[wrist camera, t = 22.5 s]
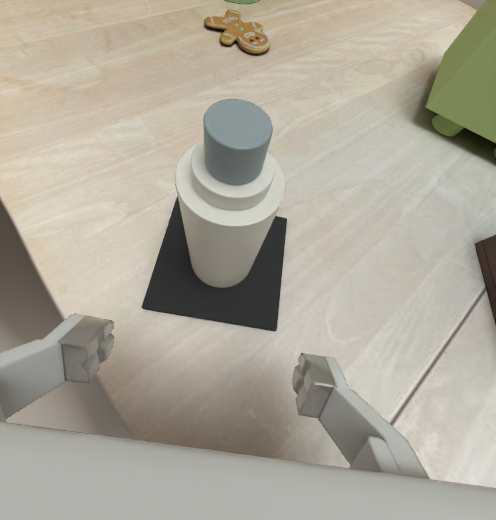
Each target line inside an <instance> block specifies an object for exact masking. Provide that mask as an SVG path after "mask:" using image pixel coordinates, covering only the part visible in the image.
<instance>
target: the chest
mask: <svg viewBox="0 0 496 520" xmlns="http://www.w3.org/2000/svg"><path fill="white" fill-rule="evenodd" d="M475 245H476V249H477V253H478V256H479V260H480V264H481V268H482V272H483V275H484V279H485V283H486V287H487V291H488V295H489V298H490V302H491V306H492V310H493V314H494V317H495V321H496V235H494V236H492V237H489V238H487V239H485V240H483V241H480V242H478V243H475Z"/></svg>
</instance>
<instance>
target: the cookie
mask: <svg viewBox="0 0 496 520" xmlns="http://www.w3.org/2000/svg"><path fill="white" fill-rule="evenodd" d="M204 24H205V25H206V26H208V27H211V28H216V29H222V30H225V31H224V32H223V33H222V34H221V36H220V41H221V43H223V44H225V45H231V44H233V43H234V41H237V42H238V45H239V47H240V48H241V49H243V50H244V51H246V52H249V53H252V54H260V53H263V52H265V51H267V50H268V49H269V47H270V40H269V38H268V36H267V35H266V34H265V33H263V32H262V30H263V28H262V25H261V24H259V23H254V22H249V23H243V22H242V21H241V15H240V13H239V12H238V11H235V10H228V11H227V12H226V14H225V17H212V16H210V17H207V18H206V19H205V20H204Z"/></svg>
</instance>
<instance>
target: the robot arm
mask: <svg viewBox="0 0 496 520" xmlns="http://www.w3.org/2000/svg"><path fill="white" fill-rule="evenodd" d="M113 329H114V322H113V321H112V320H107V319H102V318H97V317H92V316H85V315H80V314H72V315H70V316H69V317H68V318H67V319H66V320H65V321H63V322H62V323H61V324H60V325H59V326H58V327H57V328H55V329H54V330H53V331H52V332H50V333H49V334H48V335H47V336H46V337H45V338H44V339H42V340H38V339H37V340H34V341H32V342H29V343H26V344H23V345H20V346H18V347H15V348H12V349H9V350H7V351H4V352H1V353H0V520H496V488H492V487H484V486H477V485H469V484H462V483H454V482H447V481H439V480H432V479H430V478H429V477H428V475H427V473H426V471H425V470H424V468H423V466H422V464H421V463H420V461H419V459H418V457H417V456H416V454H415V452H414V450H413V449H412V447H411V445H410V443H409V442H408V440H407V439H405V438H404V437H403V436H402V435H401V434H400V433H399V432H398V431H397V430H396V429H395V428H394V427H393V426H391V425H390V424H389V423H388V422H387V421H386V420H385V419H384V418H383V417H382V416H381V415H380V414H378V413H377V412H376V411H375V410H374V409H373V408H372V407H371V406H370V405H369V404H368V403H367V402H366V401H364V400H363V399H362V398H361V397H360V396H359V395H358V394H357V393H356V392H355V391H354V390H350V388H349V386H348V384H347V382H346V380H345V377H344V375H343V373H342V371H341V369H340V366H339V364H338V362H337V360H336V359H335V358H331V357H325V356H317V355H311V354H305V353H301V354H300V356H299V359H298V361H299V365H298V366H296V367H295V369H294V372H293V379H292V381H293V389H294V391H295V392H296V393H297V394H298V395H297V397H296V404H297V409H298V414H299V415H303V416H308V417H314V418H319V419H318V420H319V421H320V422H321V424H322V425H323V427H324V428H325V430H326V431H327V432H328V434H329V435H330V437H331V438H332V440H333V441H334V442H335V444H336V445H337V447H338V448H339V450H340V451H341V452H342V454H343V455H344V457H345V458H346V460H347V461H348V462H349V464H350V465H351V466H350V468H342V467H335V466H327V465H320V464H313V463H305V462H298V461H290V460H283V459H275V458H267V457H260V456H252V455H245V454H237V453H230V452H222V451H214V450H207V449H200V448H192V447H185V446H177V445H170V444H163V443H155V442H148V441H140V440H133V439H126V438H118V437H110V436H103V435H96V434H88V433H80V432H73V431H66V430H58V429H50V428H43V427H35V426H28V425H21V424H13V423H6V420H5V419H7V418H8V417H10V416H11V415H13V414H14V413H16V412H18V411H19V410H21V409H22V408H24V407H26V406H27V405H29V404H30V403H32V402H33V401H35V400H37V399H38V398H40V397H42V396H43V395H45V394H46V393H48V392H49V391H51V390H53V389H54V388H56V387H57V386H59V385H60V384H62V383H64V382H65V380H66V381H74V382H82V383H89V382H90V381H91V380H92V378H93V377H94V376H95V374H96V373H97V371H98V370H99V363H101V362H103V361H105V360H106V359H107V358H108V356H109V355H110V352H111V350H112V348H113V344H114V336H113V335H112V334H111V332H112V330H113Z"/></svg>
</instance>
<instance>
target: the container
mask: <svg viewBox="0 0 496 520" xmlns="http://www.w3.org/2000/svg"><path fill="white" fill-rule="evenodd" d="M426 108H428V109H429V110H431V111H433V112H435V113H437V114H439V115H437V116H435V117H434V118H433V119H432V125H433V127H434V128H435V129H436V130H437V131H438V132H439V133H441V134H443V135H445V136H455V135H456V134H457V133H459V132H460V131H461V130H462V129H464V128H467V129H469V130H471V131H473V132H475V133H477V134H479V135H481V136H482V137H484V138H486V139H488V140H490V141H492V142H494V143H496V0H486V1H485V2H484V3H483V5H482V6H481V7H480V8H479V10H478V11H477V12H476V13H475V15H474V16H473V17H472V19H471V20H470V21H469V22H468V24H467V25H466V26H465V28H464V29H463V30H462V31H461V33H460V34H459V35H458V37H457V38H456V39H455V40H454V42H453V43H452V44H451V46H450V47H449V48H448V50H447V51H446V52H445V54H444V56H443V59H442V62H441V64H440V67H439V70H438V73H437V76H436V78H435V81H434V84H433V87H432V90H431V93H430V96H429V99H428V101H427V104H426ZM494 156H495V158H496V148H495V149H494Z"/></svg>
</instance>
